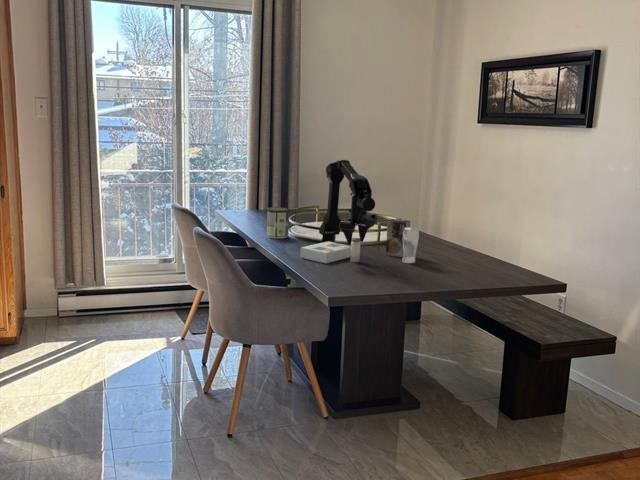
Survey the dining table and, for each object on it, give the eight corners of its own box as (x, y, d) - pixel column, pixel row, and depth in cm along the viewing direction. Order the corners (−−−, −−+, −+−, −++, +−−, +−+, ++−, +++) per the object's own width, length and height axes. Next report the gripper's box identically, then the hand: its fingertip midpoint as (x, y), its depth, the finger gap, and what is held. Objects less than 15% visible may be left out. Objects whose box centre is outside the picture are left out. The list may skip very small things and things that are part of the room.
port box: (327, 250, 303) (328, 240, 302) (352, 256, 295) (353, 245, 294) (300, 257, 288) (300, 246, 287) (325, 263, 279) (326, 252, 278)
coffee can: (274, 233, 337) (275, 206, 334) (290, 236, 331) (292, 208, 328) (262, 236, 328) (262, 208, 325) (278, 239, 323) (279, 211, 320)
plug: (353, 259, 288) (355, 237, 286) (361, 261, 286) (362, 238, 284) (348, 261, 285) (349, 238, 283) (355, 262, 283) (357, 240, 281)
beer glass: (406, 264, 284) (409, 230, 281) (397, 260, 290) (400, 227, 287) (419, 263, 287) (422, 229, 284) (410, 259, 293) (413, 226, 290)
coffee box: (408, 255, 303) (411, 220, 299) (404, 257, 297) (406, 222, 294) (389, 252, 306) (392, 218, 303) (384, 255, 301) (387, 220, 297)
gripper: (361, 212, 269) (358, 249, 272) (385, 207, 283) (383, 243, 287) (339, 208, 276) (337, 244, 279) (364, 204, 290) (362, 239, 293)
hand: (355, 243), depth 284 cm, fingers open, 9 cm apart
